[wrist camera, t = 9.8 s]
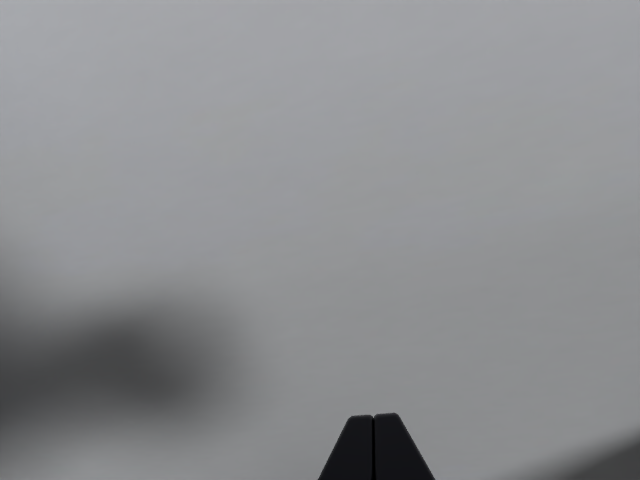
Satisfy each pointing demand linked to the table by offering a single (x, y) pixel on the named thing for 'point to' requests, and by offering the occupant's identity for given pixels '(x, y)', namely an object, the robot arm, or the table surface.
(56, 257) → the table surface
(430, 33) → the table surface
